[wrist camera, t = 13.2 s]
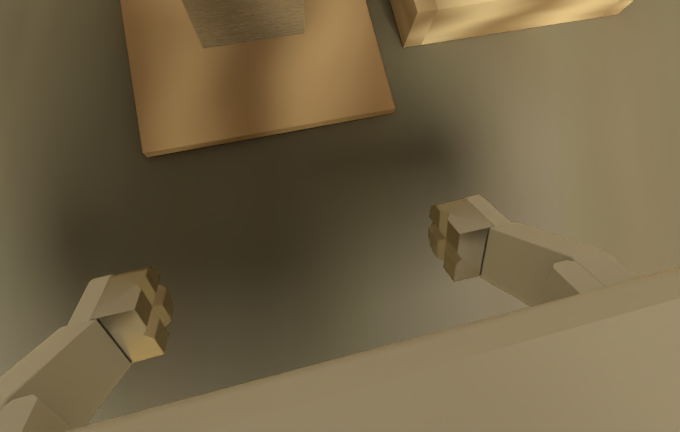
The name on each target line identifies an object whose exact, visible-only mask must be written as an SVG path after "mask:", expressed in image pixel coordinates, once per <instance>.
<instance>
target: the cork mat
mask: <svg viewBox="0 0 680 432" xmlns="http://www.w3.org/2000/svg"><path fill="white" fill-rule="evenodd" d="M120 4H121V11H122V17H123V24H124V31H125V37H126V44H127V51H128V58H129V64H130V71H131V78H132V85H133V91H134V98H135V105H136V111H137V118H138V125H139V132H140V138H141V145H142V152H143V154H144V155H145V156H147V157H152V156H158V155H163V154H169V153H174V152H180V151H185V150H191V149H196V148H202V147H207V146H213V145H219V144H224V143H230V142H235V141H241V140H246V139H252V138H257V137H263V136H269V135H274V134H280V133H285V132H291V131H296V130H302V129H307V128H313V127H318V126H324V125H330V124H335V123H341V122H346V121H352V120H357V119H363V118H368V117H374V116H379V115H385V114H391V113H393V112H394V110H395V105H394V102H393V98H392V95H391V91H390V87H389V84H388V80H387V76H386V73H385V69H384V65H383V62H382V58H381V55H380V51H379V47H378V44H377V40H376V36H375V33H374V29H373V26H372V22H371V18H370V15H369V11H368V7H367V4H366V0H304V34H298V35H291V36H284V37H277V38H271V39H264V40H257V41H250V42H243V43H236V44H230V45H223V46H216V47H209V48H203V47H202V45H201V42H200V40H199V38H198V36H197V34H196V31H195V29H194V27H193V25H192V22H191V20H190V18H189V16H188V14H187V11H186V9H185V7H184V5H183V3H182V0H120Z"/></svg>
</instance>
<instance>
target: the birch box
mask: <svg viewBox="0 0 680 432" xmlns="http://www.w3.org/2000/svg"><path fill="white" fill-rule="evenodd" d="M632 1H633V0H390V3H391V7H392V10H393V14H394V17H395V20H396V24H397V27H398V31H399V34H400V38H401V41H402V45H403V48H405V47H411V46H417V45H424V44H430V43H436V42H443V41H449V40H456V39H462V38H468V37H475V36H481V35H488V34H494V33H500V32H507V31H513V30H520V29H526V28H532V27H539V26H545V25H552V24H558V23H564V22H571V21H577V20H584V19H590V18H596V17H603V16H609V15H616V14H618V13H619V12H620V11H622V10H623V9H624V8H625V7H626V6H627V5H629V4H630V3H631V2H632Z"/></svg>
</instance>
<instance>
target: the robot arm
mask: <svg viewBox="0 0 680 432" xmlns="http://www.w3.org/2000/svg"><path fill="white" fill-rule="evenodd" d="M429 217H430V218H431V220H432V221H433V223H432V225H431V226H430V227H429V242H430V246H431V248H432V251H433V252H434V254H435V255H436V257H438V258H440V259H442V260H444V264H443V267H444V269H445V270H446V271H447V273H448V274H449V276H450V277H451V279H452V280H453V281H454V282H456V281H460V280H465V279H469V278H474V277H478V276H481V278H483V279H484V280H486V281H488V282H489V283H491V284H493V285H495V286H496V287H498V288H500V289H502V290H503V291H505V292H507V293H508V294H510V295H512V296H514V297H515V298H517V299H519V300H520V301H522V302H524V303H526V304H527V305H529V306H531V307H528V308H524V309H521V310H517V311H513V312H509V313H506V314H502V315H498V316H494V317H491V318H487V319H483V320H479V321H476V322H472V323H468V324H464V325H461V326H457V327H453V328H449V329H446V330H442V331H438V332H434V333H430V334H427V335H423V336H419V337H415V338H412V339H408V340H404V341H400V342H397V343H393V344H389V345H385V346H382V347H378V348H374V349H370V350H367V351H363V352H359V353H355V354H352V355H348V356H344V357H340V358H337V359H333V360H329V361H325V362H322V363H318V364H314V365H310V366H307V367H303V368H299V369H295V370H292V371H288V372H284V373H280V374H277V375H273V376H269V377H265V378H262V379H258V380H254V381H250V382H247V383H243V384H239V385H235V386H232V387H228V388H224V389H220V390H217V391H213V392H209V393H205V394H202V395H198V396H194V397H190V398H187V399H183V400H179V401H175V402H172V403H168V404H164V405H160V406H157V407H153V408H149V409H145V410H142V411H138V412H134V413H130V414H127V415H123V416H119V417H115V418H112V419H108V420H104V421H100V422H97V423H93V424H89V425H86V424H87V423H88V422H89V421H90V419H91V418H92V417H93V415H94V414H95V413H96V411H97V410H98V409H99V407H100V406H101V405H102V403H103V402H104V401H105V399H106V398H107V397H108V395H109V394H110V393H111V391H112V390H113V389H114V388H115V386H116V385H117V384H118V382H119V381H120V380H121V378H122V377H123V376H124V374H125V373H126V372H127V370H128V369H129V368H130V366H131V363H134V362H137V361H141V360H145V359H148V358H152V357H156V356H159V355H163V354H165V349H166V344H167V339H168V335H169V333H168V331H167V330H166V328H165V327H166V326H167V325H168V324H169V322H170V321H171V320H172V315H173V303H172V299H171V296H170V293H169V291H168V289H167V288H166V287H164V286H162V285H160V284H159V280H160V275H159V274H158V272H157V270H156V269H155V268H153V267H147V268H142V269H137V270H132V271H126V272H121V273H116V274H113V275H107V276H102V277H98V278H94V279H92V280H91V281H90V282H89V283H88V285H87V287H86V289H85V291H84V293H83V295H82V297H81V299H80V301H79V303H78V305H77V307H76V309H75V311H74V313H73V315H72V317H71V319H70V321H69V323H68V325H67V326H64V327H60V328H59V329H58V330H57V331H55V332H54V333H53V334H52V335H51V336H49V337H48V338H47V339H46V340H45V341H43V342H42V343H41V344H40V345H38V346H37V347H36V348H35V349H34V350H32V351H31V352H30V353H29V354H28V355H26V356H25V357H24V358H23V359H22V360H20V361H19V362H18V363H17V364H15V365H14V366H13V367H12V368H11V369H9V370H8V371H7V372H6V373H5V374H3V375H2V376H1V377H0V432H680V267H678V268H674V269H671V270H667V271H663V272H659V273H656V274H652V275H648V276H644V277H641V278H640V277H638V276H637V275H636V274H634V273H633V272H632V271H631V270H629V269H628V268H627V267H625V266H624V265H623V264H621V263H620V262H619V261H617V260H616V259H615V258H614V257H612V256H611V255H610V254H608V253H607V252H606V251H604V250H602V249H599V248H596V247H593V246H590V245H587V244H584V243H580V242H577V241H574V240H571V239H568V238H565V237H562V236H559V235H556V234H552V233H549V232H546V231H543V230H540V229H537V228H534V227H531V226H528V225H524V224H521V223H518V222H513V223H511V222H510V221H509V220H508V219H507V218H506V217H504V216H503V215H502V214H501V213H500V212H499V211H498V210H497V209H496V208H495V207H493V206H492V205H491V204H490V203H489V202H488V201H487V200H486V199H485V198H484V197H483V196H481V195H474V196H469V197H465V198H462V199H459V200H455V201H450V202H446V203H441V204H437V205H432V206H431V209H430V215H429Z"/></svg>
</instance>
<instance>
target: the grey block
mask: <svg viewBox="0 0 680 432" xmlns="http://www.w3.org/2000/svg"><path fill="white" fill-rule="evenodd" d="M182 3H183V5H184V7H185V9H186V11H187V14H188V16H189V18H190V20H191V22H192V25H193V27H194V29H195V31H196V34H197V36H198V38H199V40H200V42H201V45H202V47H203V48H209V47H216V46H223V45H230V44H236V43H243V42H250V41H257V40H264V39H271V38H277V37H284V36H291V35H298V34H304V0H182Z"/></svg>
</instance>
